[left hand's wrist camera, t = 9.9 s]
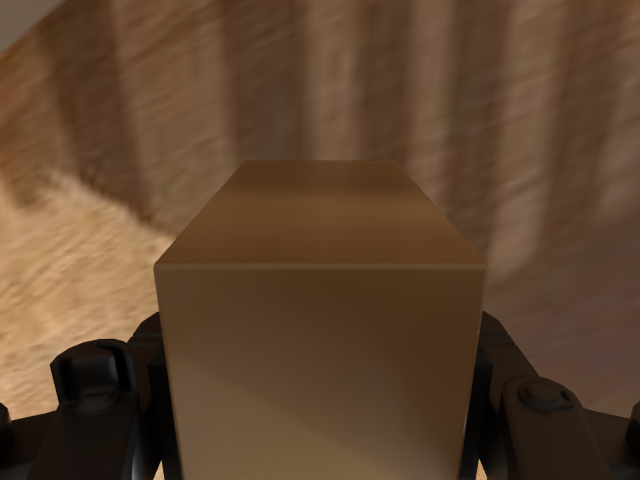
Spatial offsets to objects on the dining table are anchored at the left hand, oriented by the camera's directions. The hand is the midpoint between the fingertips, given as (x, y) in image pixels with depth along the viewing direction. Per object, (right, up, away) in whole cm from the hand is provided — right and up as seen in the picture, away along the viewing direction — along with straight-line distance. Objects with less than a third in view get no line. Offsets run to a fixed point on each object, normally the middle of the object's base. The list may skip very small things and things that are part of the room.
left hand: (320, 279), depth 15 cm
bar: (0, -7, +3) cm, 8 cm away
